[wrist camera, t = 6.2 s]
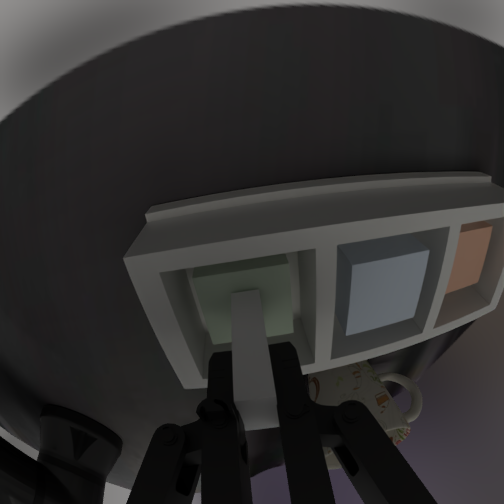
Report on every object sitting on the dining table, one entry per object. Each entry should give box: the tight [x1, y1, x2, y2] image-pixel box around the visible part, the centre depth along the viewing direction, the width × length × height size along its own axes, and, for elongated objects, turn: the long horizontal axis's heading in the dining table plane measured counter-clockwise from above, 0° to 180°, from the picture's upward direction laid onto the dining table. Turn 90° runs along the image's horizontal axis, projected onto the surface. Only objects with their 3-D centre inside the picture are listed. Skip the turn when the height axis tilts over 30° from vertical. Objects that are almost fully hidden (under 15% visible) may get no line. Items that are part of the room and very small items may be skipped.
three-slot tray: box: [123, 171, 504, 389], centre depth 16 cm, size 26×11×6 cm, turn 98°
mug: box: [308, 360, 422, 469], centre depth 21 cm, size 8×13×10 cm, turn 89°
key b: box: [335, 233, 430, 336], centre depth 15 cm, size 5×5×2 cm
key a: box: [192, 253, 294, 344], centre depth 16 cm, size 5×5×2 cm
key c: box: [445, 220, 493, 294], centre depth 16 cm, size 5×5×2 cm
